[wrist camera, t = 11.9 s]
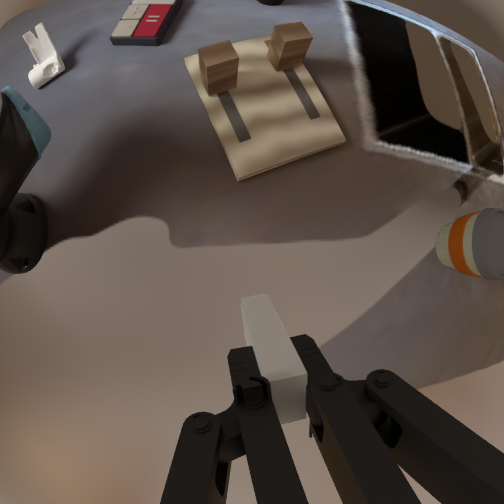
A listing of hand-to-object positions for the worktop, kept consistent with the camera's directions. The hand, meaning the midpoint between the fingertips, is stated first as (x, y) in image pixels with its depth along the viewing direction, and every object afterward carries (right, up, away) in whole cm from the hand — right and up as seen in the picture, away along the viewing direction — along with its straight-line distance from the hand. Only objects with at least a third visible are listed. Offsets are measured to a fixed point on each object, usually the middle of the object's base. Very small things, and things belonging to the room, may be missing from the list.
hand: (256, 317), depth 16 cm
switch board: (+2, +31, +31) cm, 44 cm away
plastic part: (-45, +44, +27) cm, 69 cm away
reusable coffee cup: (+41, +5, +35) cm, 54 cm away
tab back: (+6, +38, +29) cm, 49 cm away
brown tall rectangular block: (-6, +32, +28) cm, 43 cm away
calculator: (-22, +53, +30) cm, 65 cm away
